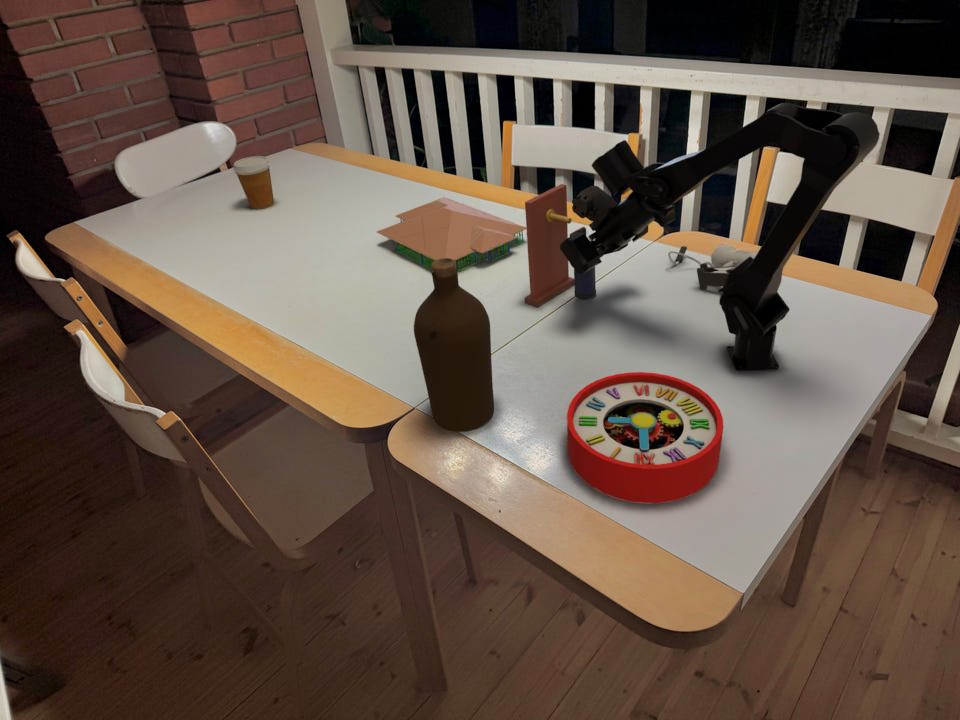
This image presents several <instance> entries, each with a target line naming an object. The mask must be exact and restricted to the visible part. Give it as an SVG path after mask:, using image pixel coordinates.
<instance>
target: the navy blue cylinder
mask: <svg viewBox="0 0 960 720" xmlns="http://www.w3.org/2000/svg"><path fill="white" fill-rule="evenodd" d="M578 232H580V233H584V234H585V235H586V236H587V228H586V227H585V226H582V227H579V228H578V229H576V230H574V231H572V232H571V233H570V234H569V237H571V236H572V235H574V234H576V233H578ZM573 278H574V282H575V284H574V291H573V293H574V297H575V298H576V299H577V300H582V301H587V300H588V301H589V300H592V299H594V298H596V297H597V287H596V286H597V285H596V284H597V283H596V266H594V267H593V268H592V269H590V270H588V271H587V272H585V273H584V274H582V275H580V274H578V273H577V272H576V271H575V269H574V268H573Z"/></svg>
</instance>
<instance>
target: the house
mask: <svg viewBox="0 0 960 720" xmlns="http://www.w3.org/2000/svg"><path fill="white" fill-rule="evenodd" d="M395 217H396V218H397V219H400V222H398V223H396V224H392V225H390V226H387V227H385V228H382V229H379V230H377V231H376V234H379V235H380V236H384V237H386V238H387V239H390V240H392V241H393V242H394V244H395V249H396V252H398V253H400V254H401V255H403V256H405V257H407V258H409V259H412V260H413V261H415V262H417V263H419V264H421V265H424V266H425V267H427V268H429V269H431V270H432V263H433V261H436V260H438V259H442V258H449V259H453V260H454V261H455V263H456V265H459V264H461V263H463V262H466V260H467V261H468V260H470V264H469V262H467V264H466V263H464V265H461V267H462V268H460V266H458V270H457V268H456V270H457V273H458V272H459V271H462V270H464V269H467V268H469V267H471V266H473V265H475V264H477V263H480V262H482V261H484V260H485V261H488V262H492V261H495V260H497V259H499V258H501V257H503V256H506V255H508V254H510V249H511V248H513V247H515V246H518V245H520V244H522V243H524V235H523V233H524V232H523V231H525V230H527V228H526V226H524V225H522V224H518V223H515V222H513V221H510V220H508V219H505V218H502V217H499V216H497V215H495V214H492V213H490V212H489V213H488V212H485V211H483V210H481V209H478V208H475V207H473V206H470V205H467V204H464V203H461V202H459V201H457V200H454V199H452V198H448V197H445V196H444V197H441V198H438V199H435V200H432V201H430V202H428V203H425V204H422V205H420V206H417V207H414V208H411V209H409V210H407V211H404V212H400V213H398V214H395ZM518 235H519V236H518ZM513 241H517V244H513V243H510V242H513ZM510 244H511V245H510ZM496 248H497V250H496ZM497 253H498V255H499V256H498V257H495V258H492V260H491V254H497ZM500 253H501V256H500ZM503 253H504V254H503ZM477 255H478V256H477ZM481 255H482V256H481ZM481 257H482V259H481ZM472 258H473V259H472ZM478 258H479V261H478ZM459 259H460V260H461V261H460V260H459ZM463 259H464V260H463ZM456 261H457V262H456ZM463 266H465V267H463Z"/></svg>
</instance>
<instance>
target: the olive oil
mask: <svg viewBox="0 0 960 720" xmlns="http://www.w3.org/2000/svg"><path fill="white" fill-rule="evenodd" d="M455 261H456V260H455ZM455 261H454V260H453V259H449V258H442V259H438V260H436V261H435V260H433V261H432V262H431V263H432V267H431V268H432V269H431V271H432V273H431V276H432V284H433V290H432V291H431V292H430V293H429V295H428V296H427V297H426V298H425V299H424V300H423V301H422V302H421V303H420V305H419V306H418V308H417V310H416V313H415V316H414V322H413V334H414V335H413V336H414V339H415V345H416V348H417V352H418V357H419V361H420V365H421V369H422V373H423V378H424V382H425V386H426V387H425V388H426V391H427V396H428V400H429V405H430V406H429V407H430V411H431V415H432V420H433V421H434V423H435V424H436V425H437V426H438V427H439V428H441V429H443V430H445V431H449V432H456V433H465V432H470V431H474V430H478V429H479V428H481V427H483V426H485V425H486V424H487V423H488V422H490V420H491V419H492V417H494V413H495V400H494V398H495V397H494V384H493V365H492V363H493V362H492V342H491V341H492V339H491V338H492V337H491V335H492V334H491V322H490V321H491V320H490V316H489V314H488V312H487V310H486V308H485V305H484V304H483V303H482V302H481V300H479V299H478V298H477V297H476V296H474V295H473V294H472V293H470V292H468V291H467V290H466V289H464V288H463V287H461V286H460V284H459V274H458V272H457V271H458V270H456V269H457V262H456V263H455Z"/></svg>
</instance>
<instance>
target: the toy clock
mask: <svg viewBox="0 0 960 720" xmlns="http://www.w3.org/2000/svg"><path fill="white" fill-rule="evenodd" d="M571 399H572V400H571V401H570V403H569V405H568V408H567V412H566V428H567V429H566V432H567V433H566V435H567V457H568V459H569V462H570V466H571V467H572V468H573V470H574V472H575V474H576V475H577V476H578V477H579V478H580V480H582V481H583V482H585V483H586V484H587V485H588V486H590V487H591V488H592V489H594V490H596V491H597V492H599V493H601V494H603V495H606V496H608V497H611V498H614V499H615V500H621V501H624V502H629V503H634V504H635V503H636V504H662V503H663V504H665V503H671V502H674V501H679V500H681V499H685V498H688V497H689V496H692V495H693V494H696V493H698V492H699V491H701V490H702V489H704V488H705V487H706V486H707V485H708V484H709V483H710V482H711V481H712V479H713V478H714V476H715V475H716V472H717V471H718V466H719V464H720V463H719V462H720V457H721V456H720V455H721V449H722V441H723V433H724V418H723V414H722V412H721V409H720V408H719V406H718V404H717V403H716V401H715V400H714V399H713V398H712V397H711V396H710V395H709V394H708V393H707V392H705V391H704V390H702V389H701V388H700V387H698V386H697V385H694V384H693V383H691V382H688V381H686V380H684V379H681V378H678V377H675V376H671V375H667V374H661V373H657V372H645V371H644V372H643V371H635V372H633V371H632V372H621V373H616V374H613V375H612V374H611V375H608V376H604V377H602V378H599V379H596V380H595V381H592V382H591V383H589V384H586V385H585V386H584V387H583V388H582V389H580V390H579V391H578V392H577V393H576V394H575V395H574V397H573V398H571Z"/></svg>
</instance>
